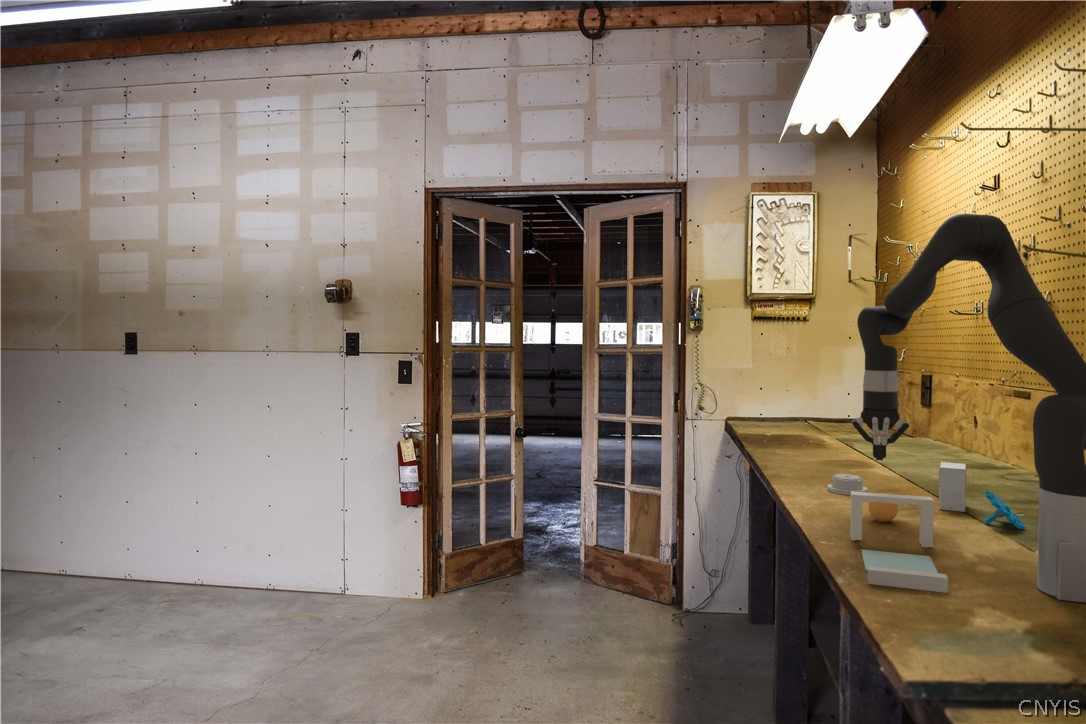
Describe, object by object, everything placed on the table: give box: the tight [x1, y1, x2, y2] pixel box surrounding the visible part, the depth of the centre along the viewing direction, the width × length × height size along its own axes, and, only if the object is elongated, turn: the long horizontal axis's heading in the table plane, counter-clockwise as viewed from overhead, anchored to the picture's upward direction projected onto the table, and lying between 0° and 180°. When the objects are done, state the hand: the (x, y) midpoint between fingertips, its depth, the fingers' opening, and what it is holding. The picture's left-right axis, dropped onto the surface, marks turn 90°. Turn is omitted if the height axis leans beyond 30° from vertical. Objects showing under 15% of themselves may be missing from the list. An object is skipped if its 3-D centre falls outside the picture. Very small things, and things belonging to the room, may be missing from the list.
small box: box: [938, 461, 967, 513], centre depth 166 cm, size 8×6×10 cm
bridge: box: [850, 491, 935, 549], centre depth 140 cm, size 3×15×10 cm, turn 68°
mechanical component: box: [826, 473, 868, 496], centre depth 184 cm, size 10×4×10 cm
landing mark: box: [860, 549, 939, 574], centre depth 127 cm, size 12×12×1 cm
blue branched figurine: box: [983, 490, 1026, 530], centre depth 151 cm, size 11×6×10 cm
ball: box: [868, 502, 899, 523], centre depth 155 cm, size 6×6×6 cm
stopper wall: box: [867, 566, 949, 594], centre depth 116 cm, size 2×12×2 cm, turn 68°
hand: (879, 459), depth 164 cm, fingers closed
